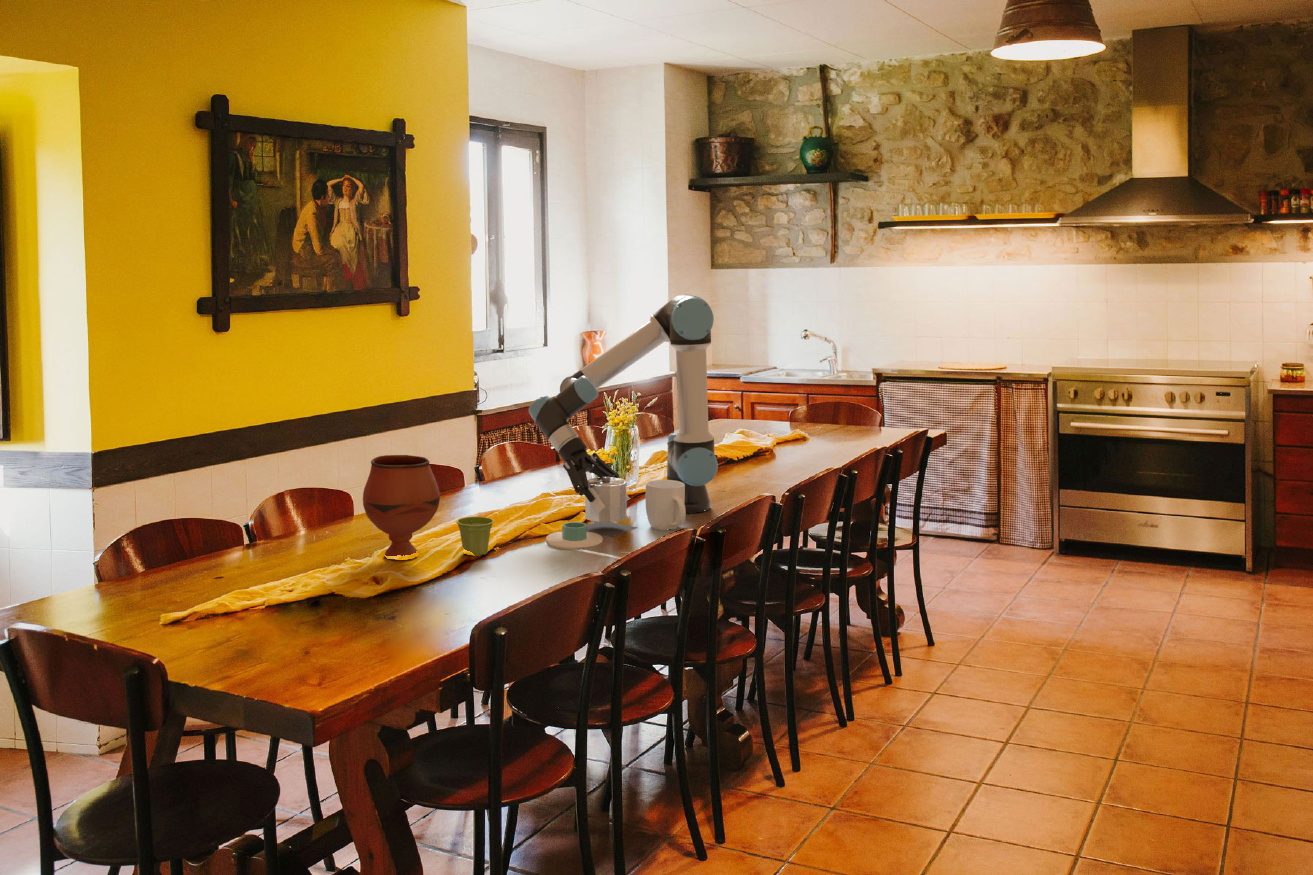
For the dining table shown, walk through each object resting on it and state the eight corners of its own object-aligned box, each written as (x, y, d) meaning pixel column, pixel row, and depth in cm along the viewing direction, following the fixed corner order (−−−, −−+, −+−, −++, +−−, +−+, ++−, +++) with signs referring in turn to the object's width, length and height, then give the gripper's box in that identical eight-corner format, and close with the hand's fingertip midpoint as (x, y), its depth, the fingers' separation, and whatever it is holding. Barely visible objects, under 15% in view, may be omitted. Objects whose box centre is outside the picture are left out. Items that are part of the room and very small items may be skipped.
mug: (699, 534, 321) (700, 488, 318) (666, 539, 315) (667, 492, 312) (669, 522, 333) (670, 478, 331) (637, 526, 327) (638, 481, 325)
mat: (599, 522, 331) (599, 520, 331) (638, 529, 324) (638, 527, 324) (573, 531, 320) (573, 529, 320) (612, 539, 313) (612, 537, 313)
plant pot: (458, 548, 300) (458, 516, 299) (494, 548, 301) (494, 516, 300) (455, 558, 291) (454, 525, 290) (492, 558, 292) (492, 525, 291)
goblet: (414, 570, 280) (413, 470, 276) (347, 561, 286) (344, 462, 282) (454, 551, 298) (453, 456, 293) (390, 542, 304) (388, 449, 300)
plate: (568, 531, 319) (568, 515, 319) (613, 540, 312) (613, 523, 311) (534, 543, 307) (535, 526, 306) (581, 552, 299) (581, 535, 298)
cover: (600, 510, 329) (600, 471, 327) (633, 515, 323) (634, 476, 321) (577, 518, 319) (577, 478, 317) (611, 523, 314) (611, 483, 312)
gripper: (584, 446, 336) (629, 505, 331) (535, 459, 316) (581, 522, 311) (600, 430, 332) (645, 489, 327) (550, 442, 313) (597, 505, 307)
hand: (614, 505), depth 319 cm, fingers closed on cover, 11 cm apart
